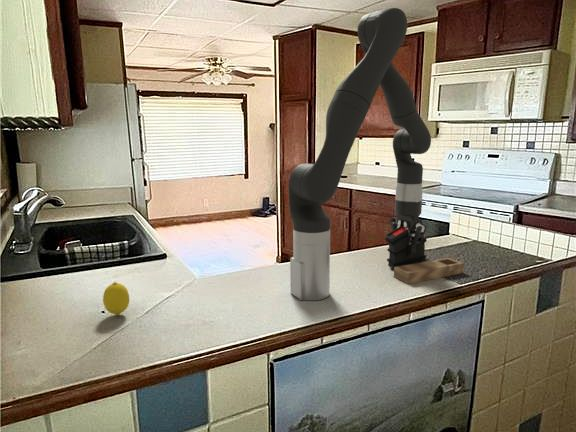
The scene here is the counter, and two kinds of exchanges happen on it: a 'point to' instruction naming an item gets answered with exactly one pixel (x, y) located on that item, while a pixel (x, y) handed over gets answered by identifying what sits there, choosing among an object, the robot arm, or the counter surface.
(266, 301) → the counter surface
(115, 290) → the lemon
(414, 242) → the robot arm
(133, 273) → the counter surface
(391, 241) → the magazine
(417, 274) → the joist
